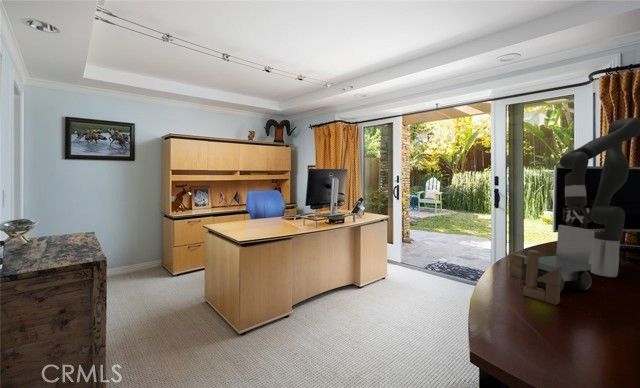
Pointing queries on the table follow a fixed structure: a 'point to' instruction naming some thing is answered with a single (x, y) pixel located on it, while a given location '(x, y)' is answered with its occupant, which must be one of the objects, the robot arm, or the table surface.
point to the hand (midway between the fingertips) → (577, 230)
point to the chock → (518, 265)
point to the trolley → (569, 258)
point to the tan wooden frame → (550, 278)
